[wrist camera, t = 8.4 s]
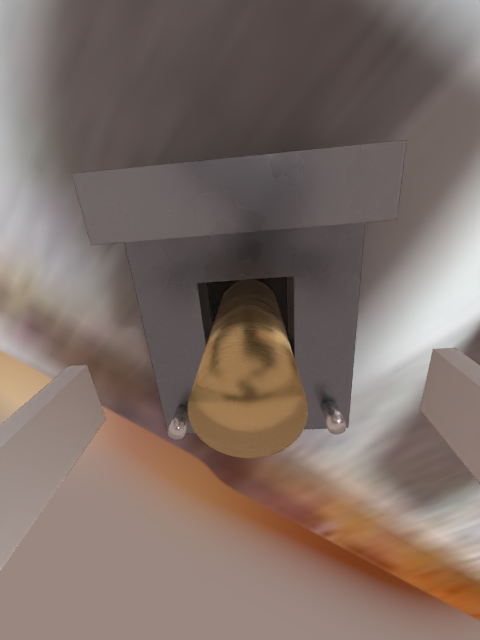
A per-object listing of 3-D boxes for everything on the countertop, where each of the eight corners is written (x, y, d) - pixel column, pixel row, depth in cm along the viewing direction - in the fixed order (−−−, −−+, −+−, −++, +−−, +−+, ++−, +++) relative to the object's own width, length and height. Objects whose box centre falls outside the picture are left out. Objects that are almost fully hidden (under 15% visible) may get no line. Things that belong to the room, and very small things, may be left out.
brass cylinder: (217, 281, 20) (178, 364, 9) (276, 277, 20) (308, 357, 9) (223, 334, 22) (196, 459, 11) (278, 331, 22) (307, 456, 11)
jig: (135, 187, 18) (71, 173, 12) (348, 167, 17) (406, 139, 11) (179, 405, 25) (153, 473, 18) (334, 398, 24) (366, 467, 17)
